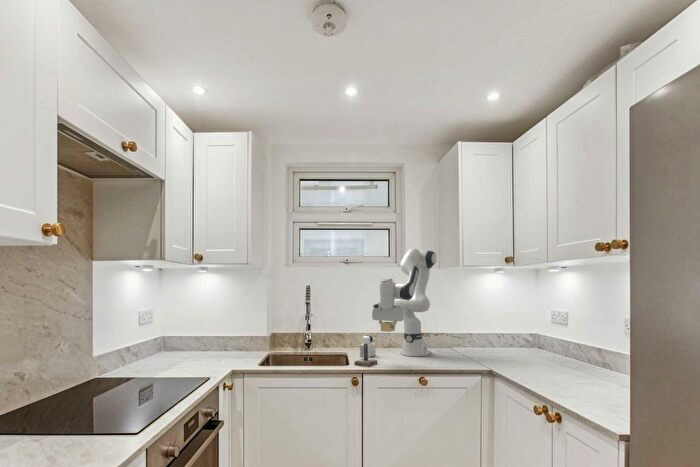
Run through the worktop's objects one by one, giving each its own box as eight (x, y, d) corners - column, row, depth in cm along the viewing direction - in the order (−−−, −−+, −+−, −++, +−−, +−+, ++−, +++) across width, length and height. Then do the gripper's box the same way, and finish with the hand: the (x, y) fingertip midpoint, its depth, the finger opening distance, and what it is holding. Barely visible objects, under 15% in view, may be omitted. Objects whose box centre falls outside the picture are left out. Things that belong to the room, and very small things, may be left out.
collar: (385, 329, 254) (385, 321, 254) (395, 330, 250) (394, 322, 251) (380, 331, 249) (380, 322, 249) (390, 331, 245) (389, 323, 246)
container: (365, 354, 275) (365, 334, 276) (375, 355, 271) (375, 335, 272) (359, 356, 268) (359, 336, 270) (370, 357, 264) (369, 337, 266)
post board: (363, 361, 252) (362, 341, 253) (377, 363, 246) (376, 343, 247) (354, 364, 243) (354, 344, 245) (368, 366, 238) (368, 345, 239)
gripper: (404, 305, 248) (405, 328, 247) (375, 304, 259) (376, 326, 258) (400, 306, 243) (400, 329, 241) (370, 305, 254) (371, 327, 253)
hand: (387, 328), depth 250 cm, fingers closed on collar, 6 cm apart
